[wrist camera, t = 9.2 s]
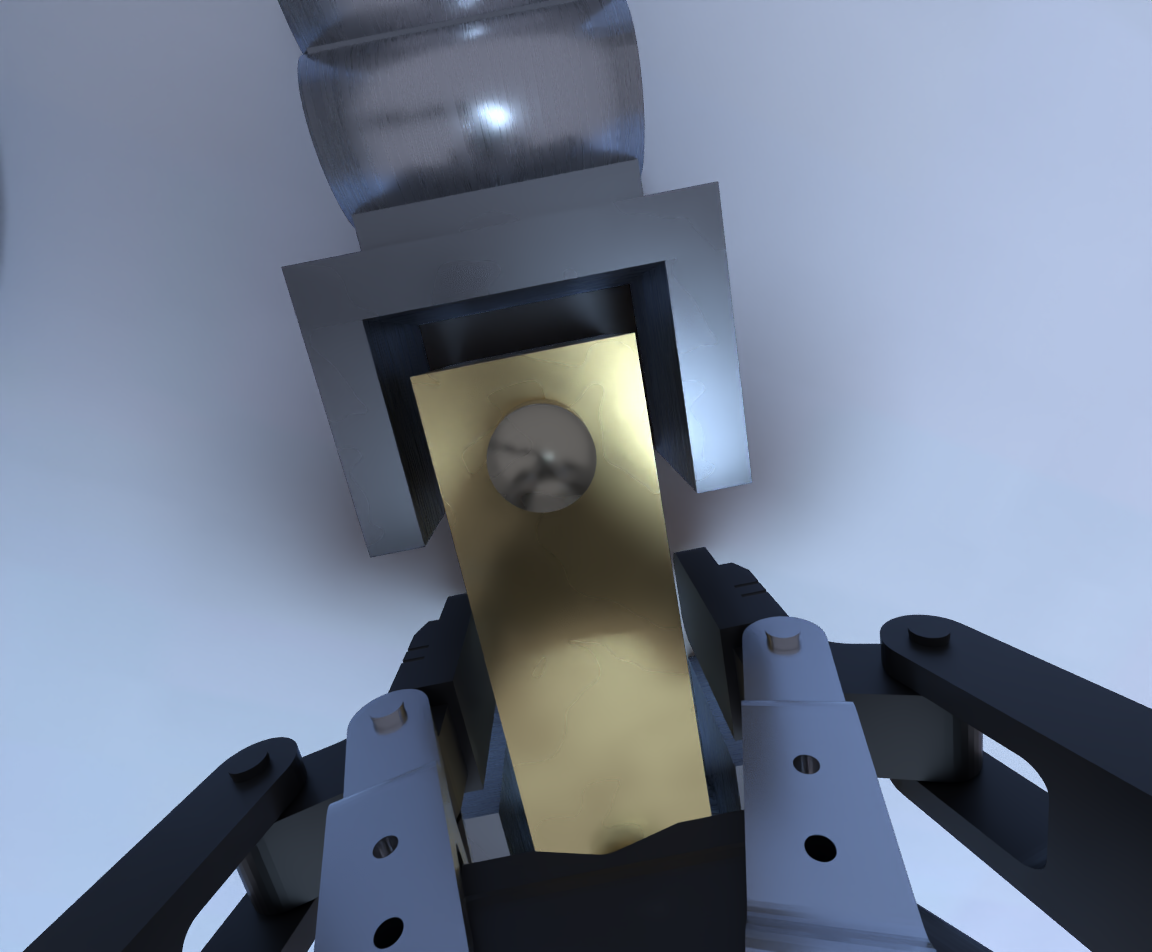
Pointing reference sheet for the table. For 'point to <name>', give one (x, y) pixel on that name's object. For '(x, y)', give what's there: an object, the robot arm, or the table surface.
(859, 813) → the robot arm
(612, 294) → the table surface
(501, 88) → the chain ends
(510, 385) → the brass block with pins
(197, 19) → the table surface
